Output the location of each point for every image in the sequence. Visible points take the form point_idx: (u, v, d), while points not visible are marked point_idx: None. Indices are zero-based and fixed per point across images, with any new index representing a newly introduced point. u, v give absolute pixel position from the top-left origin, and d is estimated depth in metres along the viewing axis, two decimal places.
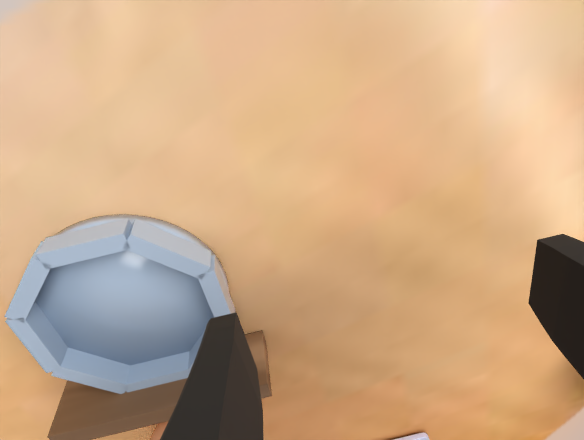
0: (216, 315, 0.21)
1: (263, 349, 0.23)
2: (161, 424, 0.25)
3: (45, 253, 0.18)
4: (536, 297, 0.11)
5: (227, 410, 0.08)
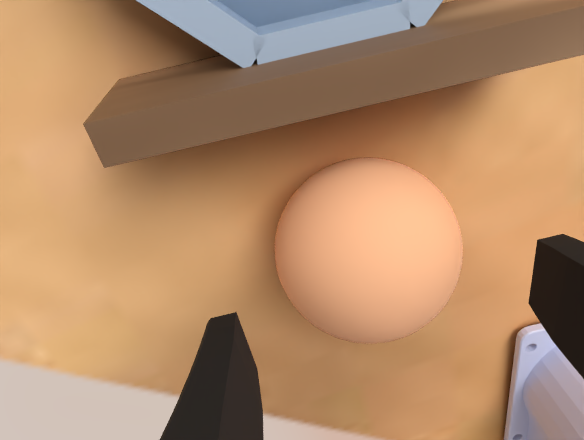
0: None
1: None
2: (307, 181, 0.12)
3: None
4: (536, 297, 0.11)
5: (227, 410, 0.08)
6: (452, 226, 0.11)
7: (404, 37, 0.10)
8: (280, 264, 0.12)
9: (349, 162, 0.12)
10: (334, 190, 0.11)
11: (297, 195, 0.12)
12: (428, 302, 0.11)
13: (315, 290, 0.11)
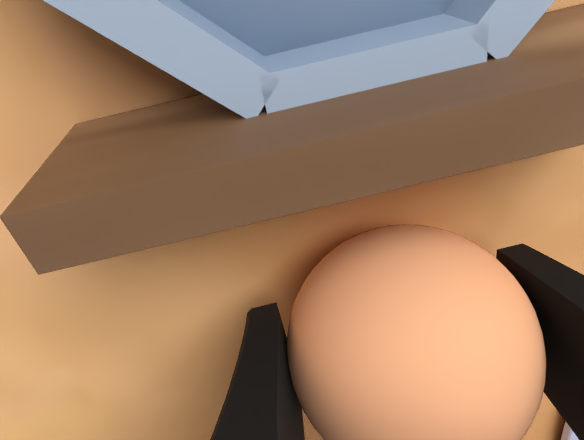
0: None
1: None
2: (332, 261, 0.09)
3: None
4: None
5: (279, 397, 0.08)
6: (537, 333, 0.08)
7: (485, 77, 0.06)
8: (296, 376, 0.09)
9: (389, 237, 0.09)
10: (374, 285, 0.08)
11: (319, 281, 0.09)
12: None
13: (347, 427, 0.08)
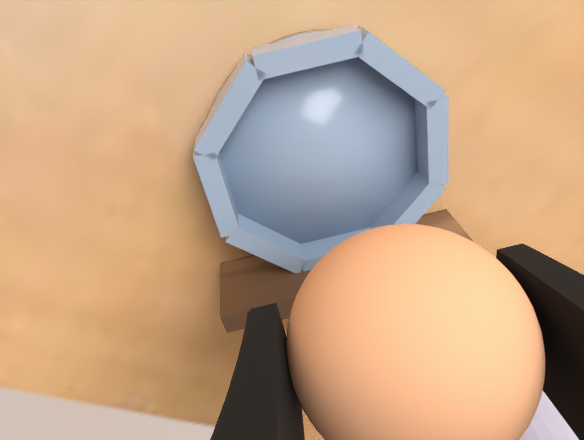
0: (431, 164, 0.17)
1: (457, 225, 0.20)
2: (331, 260, 0.09)
3: (263, 55, 0.14)
4: None
5: (279, 398, 0.08)
6: (536, 331, 0.08)
7: None
8: (296, 376, 0.09)
9: (389, 236, 0.09)
10: (374, 284, 0.08)
11: (318, 281, 0.09)
12: None
13: (349, 427, 0.08)
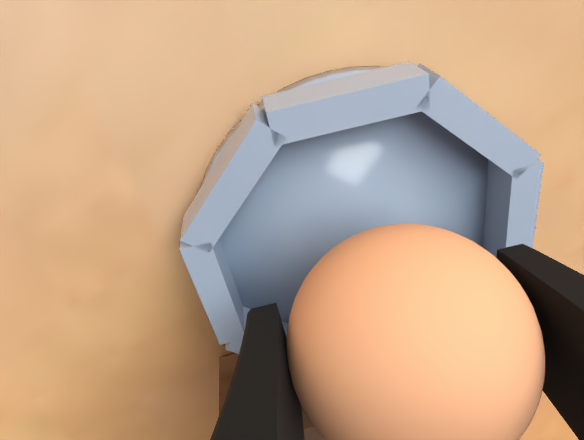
0: None
1: None
2: (331, 260, 0.09)
3: (282, 111, 0.09)
4: None
5: (279, 397, 0.08)
6: (536, 330, 0.08)
7: None
8: (296, 376, 0.09)
9: (388, 236, 0.09)
10: (373, 283, 0.08)
11: (318, 281, 0.09)
12: None
13: (349, 426, 0.08)
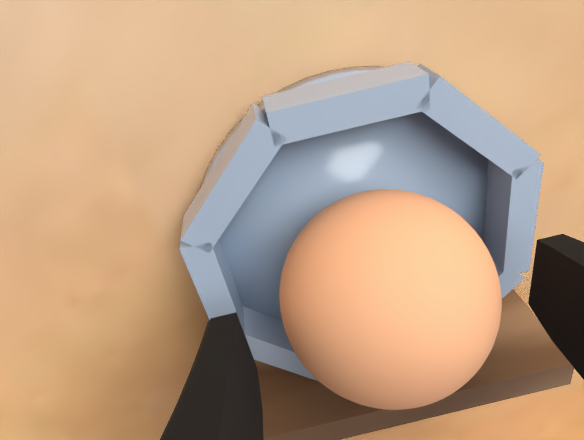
0: (510, 248, 0.12)
1: (530, 313, 0.15)
2: (318, 219, 0.10)
3: (283, 111, 0.09)
4: (536, 297, 0.11)
5: (227, 410, 0.08)
6: (492, 274, 0.09)
7: None
8: (287, 318, 0.10)
9: (367, 197, 0.10)
10: (352, 234, 0.09)
11: (306, 236, 0.10)
12: (466, 368, 0.09)
13: (331, 355, 0.09)
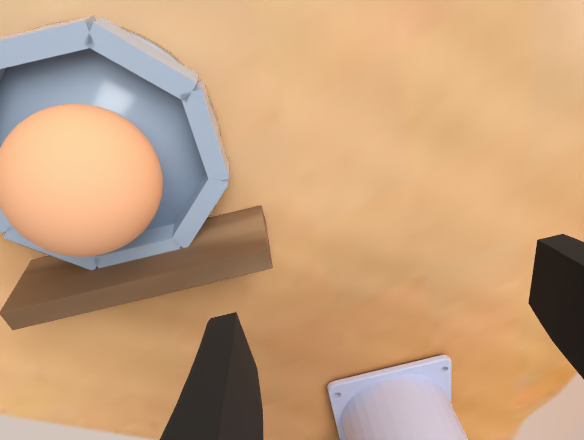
0: (205, 159, 0.17)
1: (262, 221, 0.20)
2: None
3: None
4: (536, 297, 0.11)
5: (227, 410, 0.08)
6: (122, 153, 0.14)
7: (170, 260, 0.18)
8: None
9: (53, 106, 0.14)
10: (23, 124, 0.13)
11: None
12: (95, 212, 0.13)
13: (5, 204, 0.13)
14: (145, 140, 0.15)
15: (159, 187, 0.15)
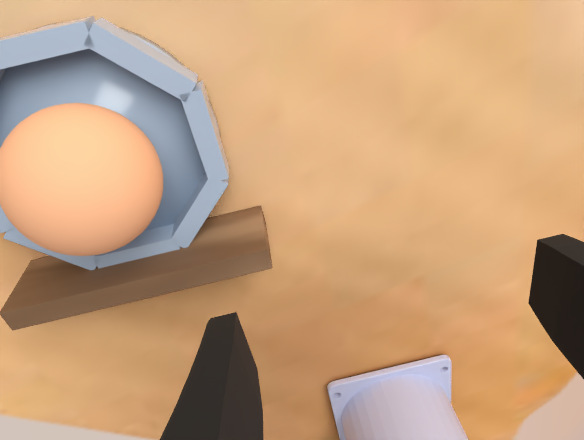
0: (204, 159, 0.17)
1: (262, 221, 0.20)
2: None
3: None
4: (536, 297, 0.11)
5: (227, 410, 0.08)
6: (124, 151, 0.14)
7: (170, 260, 0.18)
8: None
9: (54, 105, 0.14)
10: (24, 123, 0.13)
11: None
12: (97, 210, 0.13)
13: (6, 203, 0.13)
14: (146, 139, 0.15)
15: (160, 186, 0.15)
